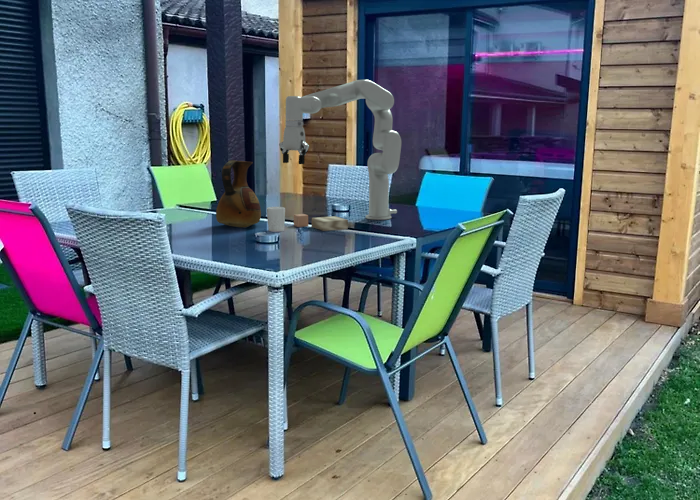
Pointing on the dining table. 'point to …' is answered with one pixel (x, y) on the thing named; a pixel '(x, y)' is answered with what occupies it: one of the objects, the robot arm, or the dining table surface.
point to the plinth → (329, 223)
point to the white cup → (276, 218)
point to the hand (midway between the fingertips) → (293, 163)
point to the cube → (300, 220)
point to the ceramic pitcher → (237, 198)
